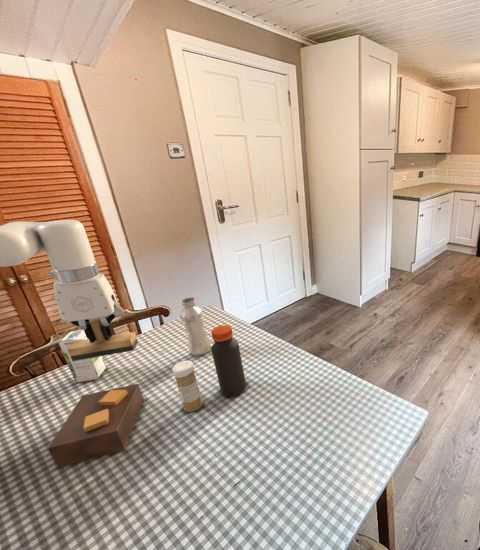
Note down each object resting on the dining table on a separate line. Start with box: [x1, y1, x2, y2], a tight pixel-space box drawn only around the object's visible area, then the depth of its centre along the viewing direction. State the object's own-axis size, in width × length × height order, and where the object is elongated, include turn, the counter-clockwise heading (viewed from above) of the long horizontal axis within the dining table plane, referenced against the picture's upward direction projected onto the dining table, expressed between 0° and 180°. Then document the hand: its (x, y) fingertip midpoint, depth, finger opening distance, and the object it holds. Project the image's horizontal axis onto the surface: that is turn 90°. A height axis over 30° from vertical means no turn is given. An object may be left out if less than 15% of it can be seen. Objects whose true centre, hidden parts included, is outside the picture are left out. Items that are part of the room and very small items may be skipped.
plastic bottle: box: [179, 297, 211, 356], centre depth 100 cm, size 6×7×20 cm
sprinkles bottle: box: [171, 360, 204, 413], centre depth 79 cm, size 5×5×14 cm
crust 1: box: [83, 409, 109, 432], centre depth 69 cm, size 4×4×1 cm
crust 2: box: [99, 389, 128, 405], centre depth 76 cm, size 4×4×1 cm
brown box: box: [47, 383, 145, 469], centre depth 73 cm, size 13×16×6 cm
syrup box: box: [58, 329, 107, 384], centre depth 90 cm, size 6×6×14 cm
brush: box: [68, 318, 139, 361], centre depth 78 cm, size 13×4×10 cm, turn 111°
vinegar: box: [210, 324, 247, 398], centre depth 84 cm, size 7×7×20 cm
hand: (102, 338), depth 79 cm, fingers closed on brush, 2 cm apart
